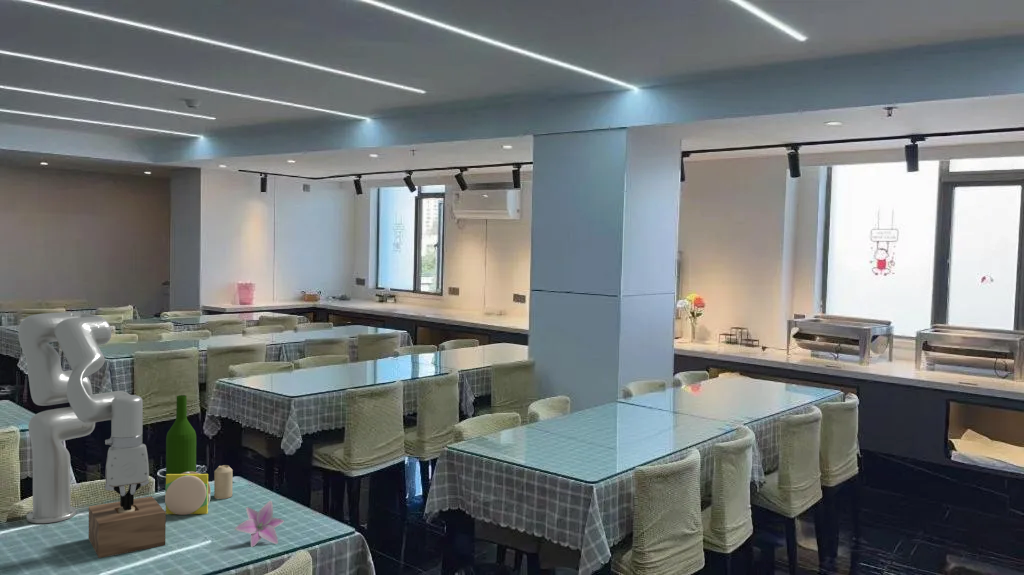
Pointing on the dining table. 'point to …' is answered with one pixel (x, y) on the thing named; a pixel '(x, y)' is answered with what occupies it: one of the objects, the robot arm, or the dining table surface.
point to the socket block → (126, 527)
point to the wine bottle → (181, 442)
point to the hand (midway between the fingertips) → (126, 508)
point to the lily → (261, 524)
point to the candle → (223, 482)
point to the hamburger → (187, 493)
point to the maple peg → (125, 510)
